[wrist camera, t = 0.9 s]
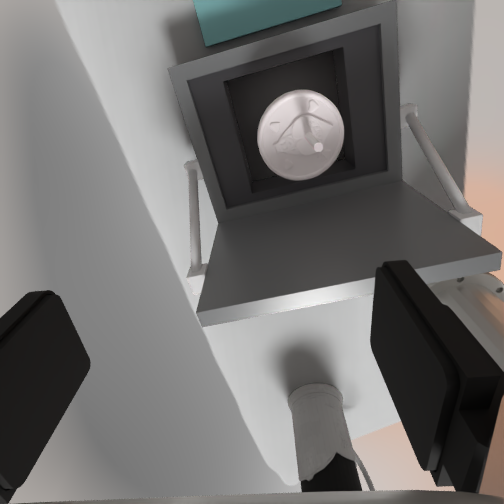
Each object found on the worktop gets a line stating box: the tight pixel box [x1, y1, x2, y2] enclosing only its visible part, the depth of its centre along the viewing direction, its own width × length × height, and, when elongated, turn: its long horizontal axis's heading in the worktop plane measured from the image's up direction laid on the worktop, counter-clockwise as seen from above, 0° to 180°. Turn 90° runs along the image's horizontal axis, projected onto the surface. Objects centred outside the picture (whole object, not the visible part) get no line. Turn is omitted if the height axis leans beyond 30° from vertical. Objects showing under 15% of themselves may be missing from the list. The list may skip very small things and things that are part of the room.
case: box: [168, 0, 502, 327], centre depth 24 cm, size 21×15×18 cm
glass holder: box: [288, 383, 375, 492], centre depth 47 cm, size 9×14×15 cm, turn 49°
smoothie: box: [257, 90, 344, 180], centre depth 26 cm, size 6×6×14 cm
